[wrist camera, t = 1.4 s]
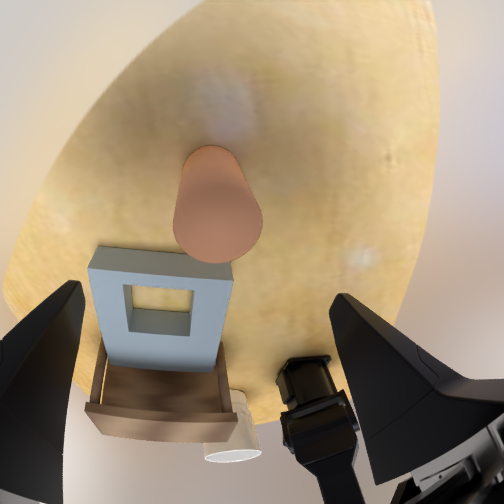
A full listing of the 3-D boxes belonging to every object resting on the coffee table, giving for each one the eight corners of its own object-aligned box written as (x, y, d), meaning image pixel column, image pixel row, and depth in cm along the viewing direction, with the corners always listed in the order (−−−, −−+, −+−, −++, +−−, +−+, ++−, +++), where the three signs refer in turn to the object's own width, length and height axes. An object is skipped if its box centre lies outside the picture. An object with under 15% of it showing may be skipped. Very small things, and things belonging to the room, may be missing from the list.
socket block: (229, 257, 23) (233, 280, 20) (210, 350, 30) (212, 372, 27) (98, 246, 20) (87, 268, 17) (114, 343, 27) (110, 364, 24)
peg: (244, 150, 18) (271, 191, 12) (233, 201, 20) (251, 266, 14) (187, 142, 17) (177, 178, 10) (179, 195, 19) (170, 259, 13)
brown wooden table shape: (225, 340, 29) (238, 421, 21) (217, 372, 32) (227, 442, 25) (100, 330, 25) (84, 410, 17) (110, 365, 29) (102, 434, 21)
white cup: (200, 409, 39) (207, 463, 31) (195, 388, 34) (202, 453, 26) (248, 405, 40) (259, 458, 32) (251, 384, 36) (264, 446, 28)
